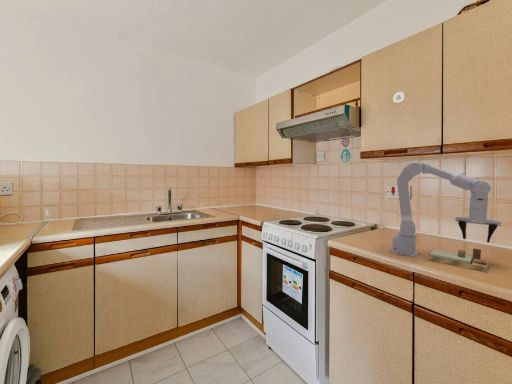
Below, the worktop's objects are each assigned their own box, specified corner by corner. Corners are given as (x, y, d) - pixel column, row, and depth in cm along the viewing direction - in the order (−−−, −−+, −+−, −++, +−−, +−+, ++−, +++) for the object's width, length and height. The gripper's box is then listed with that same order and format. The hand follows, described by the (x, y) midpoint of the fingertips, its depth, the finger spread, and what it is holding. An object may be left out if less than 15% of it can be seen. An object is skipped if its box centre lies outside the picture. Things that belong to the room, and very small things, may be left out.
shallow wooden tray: (426, 261, 110) (426, 255, 109) (431, 256, 117) (431, 251, 116) (486, 273, 96) (487, 267, 96) (488, 267, 103) (488, 261, 103)
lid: (429, 255, 109) (430, 247, 109) (434, 251, 115) (434, 243, 115) (470, 263, 99) (470, 255, 99) (472, 258, 106) (473, 250, 106)
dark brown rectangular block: (472, 261, 109) (473, 248, 109) (480, 263, 108) (481, 249, 107) (472, 263, 108) (473, 249, 107) (479, 264, 106) (480, 250, 106)
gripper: (455, 208, 109) (453, 238, 110) (501, 211, 99) (499, 245, 100) (457, 206, 114) (455, 236, 115) (502, 210, 104) (499, 242, 104)
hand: (476, 240), depth 107 cm, fingers open, 7 cm apart
